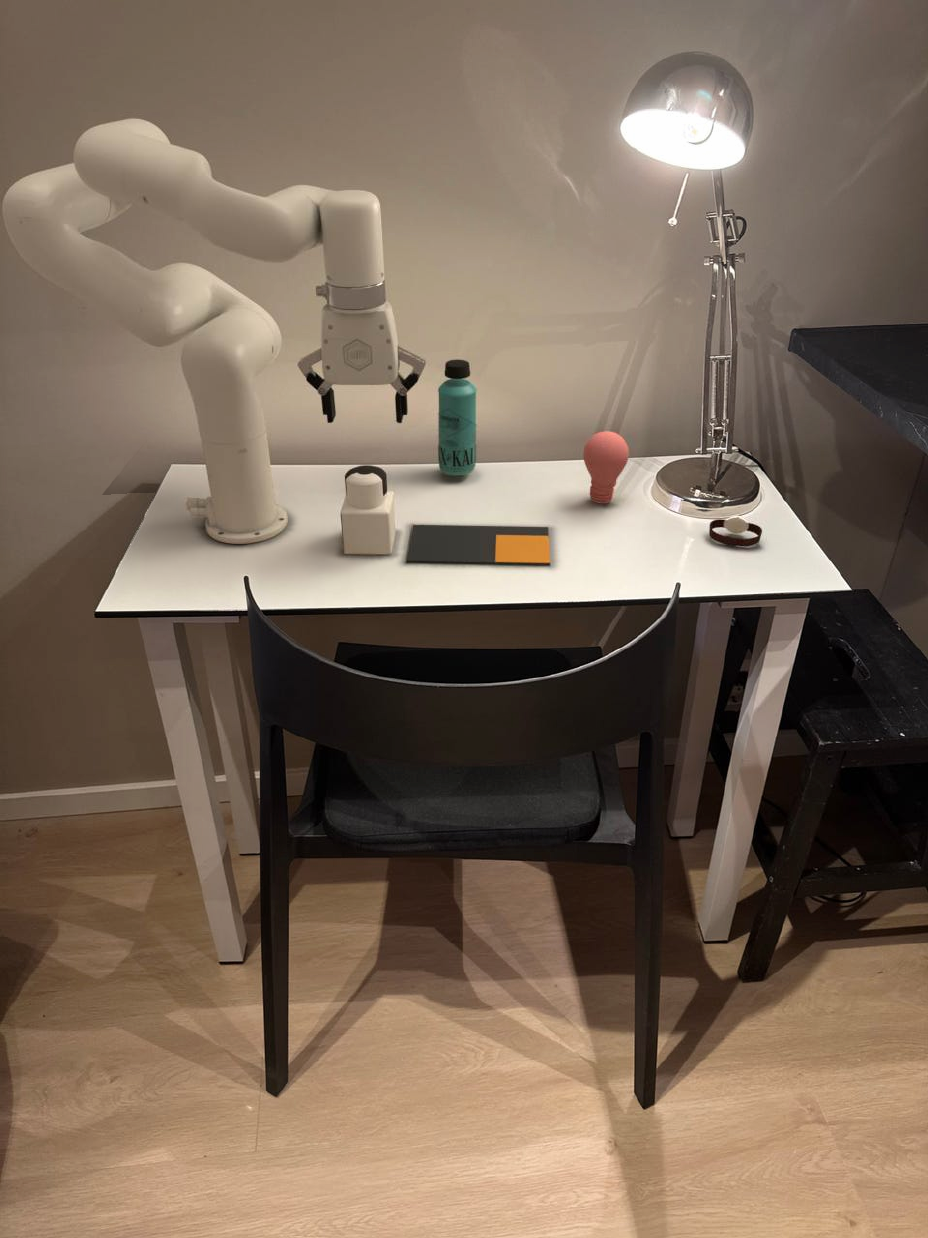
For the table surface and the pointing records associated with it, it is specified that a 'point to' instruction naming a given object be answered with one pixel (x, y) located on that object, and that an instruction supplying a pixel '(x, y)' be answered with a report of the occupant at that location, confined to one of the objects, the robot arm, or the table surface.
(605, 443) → the light bulb
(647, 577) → the table surface
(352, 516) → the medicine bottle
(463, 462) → the beverage bottle
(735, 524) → the watch
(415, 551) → the desk mat
